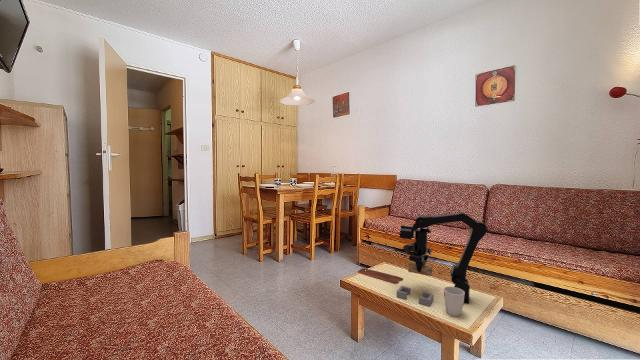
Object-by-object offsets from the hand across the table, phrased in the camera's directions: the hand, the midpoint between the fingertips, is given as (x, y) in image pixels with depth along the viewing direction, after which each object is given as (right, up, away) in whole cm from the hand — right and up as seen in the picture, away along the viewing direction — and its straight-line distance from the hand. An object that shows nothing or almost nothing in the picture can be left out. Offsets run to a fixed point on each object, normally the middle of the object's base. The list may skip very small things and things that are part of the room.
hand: (420, 270), depth 136 cm
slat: (0, -1, 0) cm, 1 cm away
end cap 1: (-10, -11, -4) cm, 15 cm away
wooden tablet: (-16, -11, +21) cm, 29 cm away
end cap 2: (-1, -11, -10) cm, 15 cm away
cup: (+7, -12, -19) cm, 24 cm away
